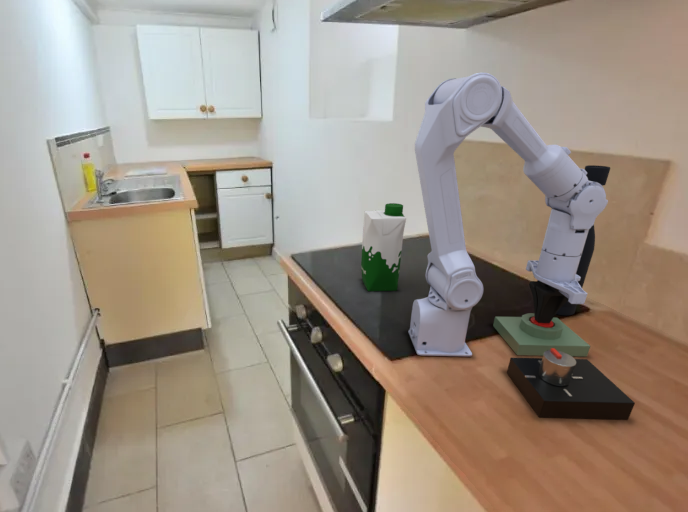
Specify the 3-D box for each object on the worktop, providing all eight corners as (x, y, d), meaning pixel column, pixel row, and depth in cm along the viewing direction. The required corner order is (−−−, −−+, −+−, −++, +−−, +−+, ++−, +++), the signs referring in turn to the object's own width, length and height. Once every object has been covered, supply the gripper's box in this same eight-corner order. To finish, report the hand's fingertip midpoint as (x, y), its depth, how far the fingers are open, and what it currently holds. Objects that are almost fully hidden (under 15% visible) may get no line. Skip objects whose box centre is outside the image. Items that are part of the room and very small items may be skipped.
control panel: (538, 417, 53) (543, 399, 51) (506, 372, 62) (509, 356, 61) (628, 420, 52) (635, 402, 51) (581, 374, 61) (587, 358, 60)
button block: (516, 355, 66) (521, 335, 65) (492, 326, 76) (496, 308, 74) (587, 356, 66) (593, 337, 64) (554, 327, 75) (559, 309, 74)
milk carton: (401, 292, 90) (410, 209, 82) (364, 293, 90) (369, 210, 82) (391, 277, 98) (398, 200, 91) (357, 278, 98) (361, 201, 90)
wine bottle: (577, 308, 82) (621, 166, 71) (571, 318, 78) (616, 169, 67) (544, 299, 87) (580, 163, 75) (536, 308, 82) (574, 166, 71)
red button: (534, 334, 68) (537, 326, 68) (524, 324, 72) (527, 316, 71) (555, 334, 68) (557, 326, 67) (544, 324, 71) (546, 316, 71)
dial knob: (575, 386, 54) (583, 364, 53) (547, 386, 54) (553, 364, 53) (559, 369, 58) (566, 348, 56) (532, 368, 58) (538, 347, 56)
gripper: (616, 267, 57) (590, 343, 62) (560, 238, 71) (543, 303, 76) (568, 266, 57) (547, 343, 63) (521, 238, 71) (507, 302, 76)
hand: (542, 321), depth 69 cm, fingers closed, pressing on red button
